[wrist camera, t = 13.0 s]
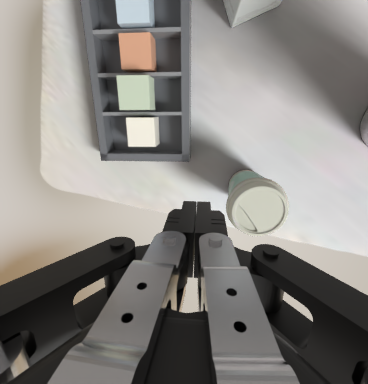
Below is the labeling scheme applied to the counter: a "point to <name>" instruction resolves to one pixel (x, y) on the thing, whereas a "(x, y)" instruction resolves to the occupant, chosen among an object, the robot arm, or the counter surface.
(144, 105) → the pale green cube
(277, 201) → the coffee cup
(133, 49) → the orange cube
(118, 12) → the pale blue cube
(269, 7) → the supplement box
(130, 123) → the cream cube
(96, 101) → the grey compartment tray
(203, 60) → the counter surface
